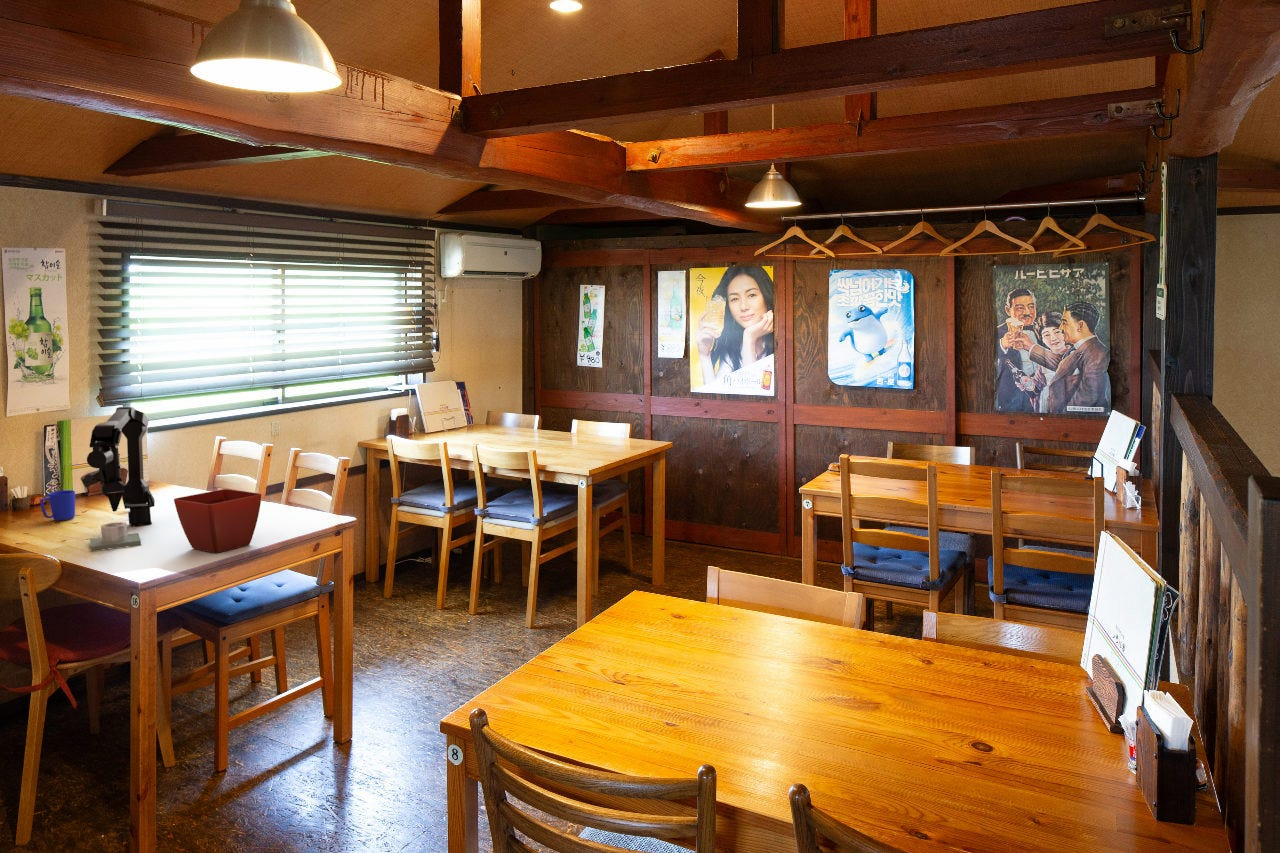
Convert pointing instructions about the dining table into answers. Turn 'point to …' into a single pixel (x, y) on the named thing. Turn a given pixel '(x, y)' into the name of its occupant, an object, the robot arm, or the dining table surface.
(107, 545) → the post stand
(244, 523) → the plant pot
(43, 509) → the mug
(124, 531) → the tan faceted hollow ring
